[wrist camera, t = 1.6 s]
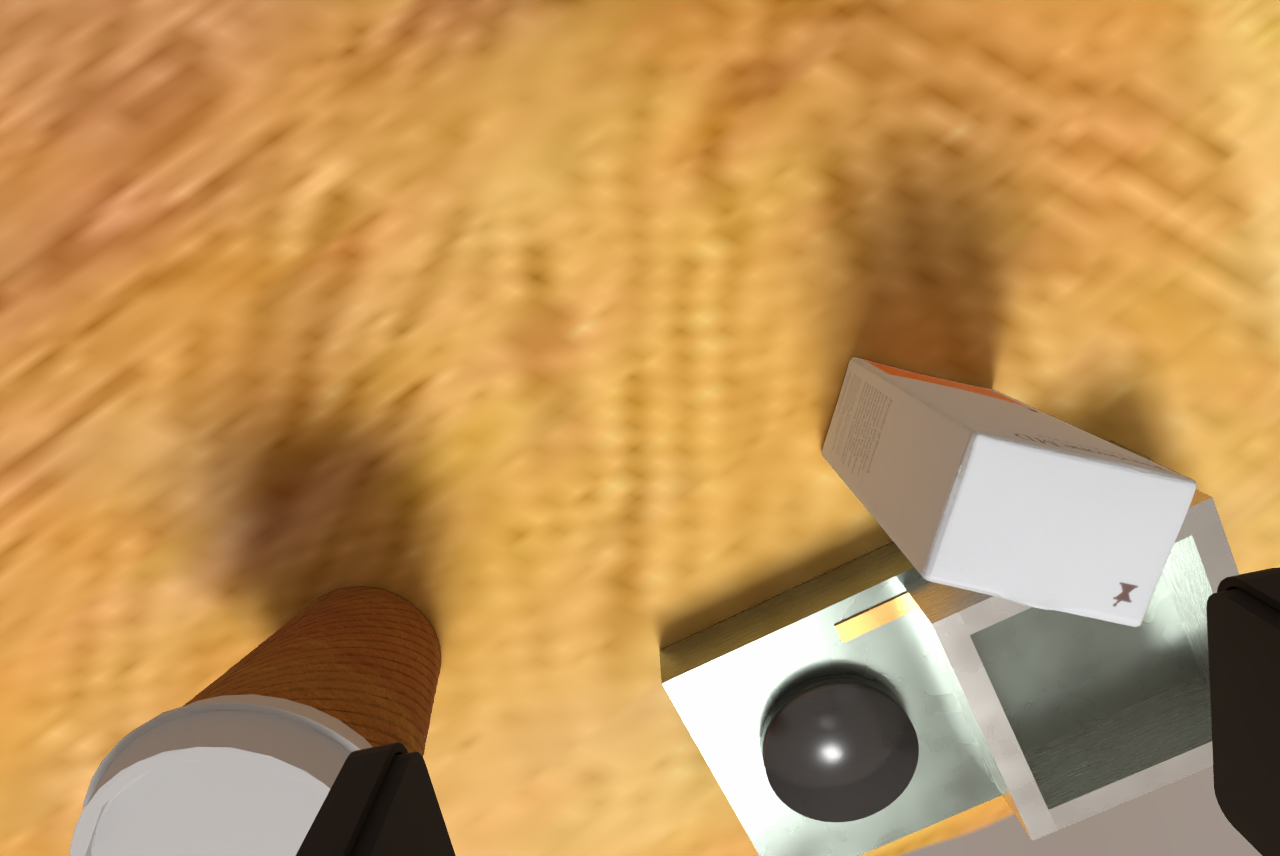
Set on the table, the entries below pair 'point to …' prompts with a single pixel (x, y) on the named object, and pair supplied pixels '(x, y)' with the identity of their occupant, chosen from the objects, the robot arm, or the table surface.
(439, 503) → the table surface
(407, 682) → the disposable coffee cup
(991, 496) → the skincare box
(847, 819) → the divided tray with ball
